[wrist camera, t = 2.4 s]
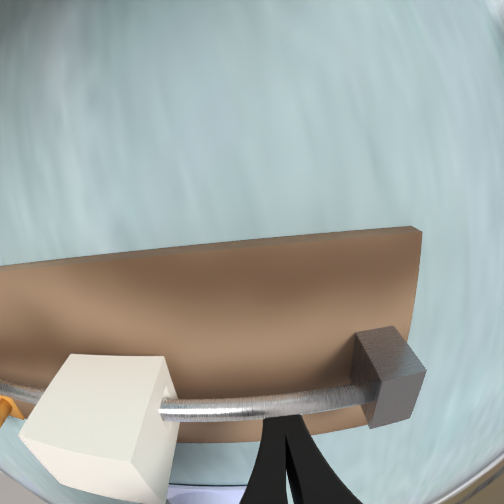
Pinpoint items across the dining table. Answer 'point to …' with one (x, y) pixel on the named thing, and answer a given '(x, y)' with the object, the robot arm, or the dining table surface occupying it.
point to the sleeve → (106, 427)
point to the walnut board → (215, 317)
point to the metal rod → (313, 401)
